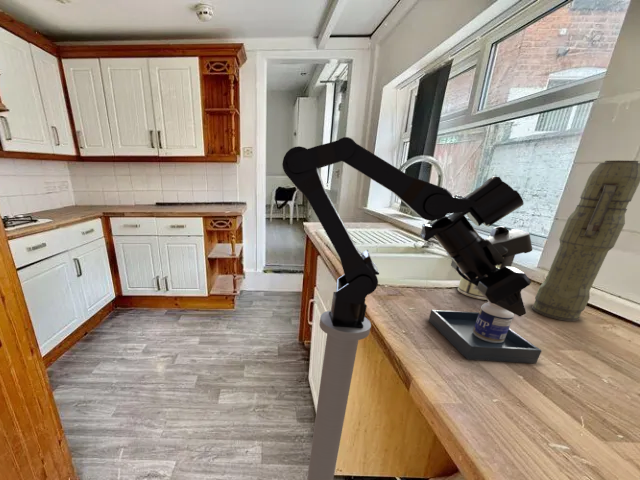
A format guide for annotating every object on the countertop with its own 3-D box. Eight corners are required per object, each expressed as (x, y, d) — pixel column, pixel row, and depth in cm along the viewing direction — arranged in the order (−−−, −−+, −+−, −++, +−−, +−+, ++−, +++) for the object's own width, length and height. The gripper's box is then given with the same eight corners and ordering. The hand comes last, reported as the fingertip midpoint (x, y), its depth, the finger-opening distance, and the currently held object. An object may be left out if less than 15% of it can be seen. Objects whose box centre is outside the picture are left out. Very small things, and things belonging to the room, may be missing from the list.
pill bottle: (467, 329, 64) (480, 290, 61) (494, 331, 64) (508, 292, 61) (480, 342, 60) (495, 301, 56) (510, 345, 59) (526, 303, 56)
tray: (466, 359, 56) (471, 346, 55) (428, 320, 70) (431, 309, 69) (536, 363, 55) (542, 350, 54) (483, 323, 69) (487, 312, 68)
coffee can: (487, 288, 91) (503, 241, 86) (508, 302, 81) (527, 251, 76) (450, 285, 92) (464, 239, 87) (466, 298, 83) (483, 248, 78)
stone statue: (576, 310, 78) (646, 162, 65) (581, 327, 69) (663, 160, 56) (531, 300, 83) (587, 161, 70) (531, 314, 75) (595, 159, 62)
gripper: (538, 222, 45) (595, 300, 47) (484, 207, 62) (528, 265, 64) (463, 267, 50) (518, 336, 51) (432, 242, 67) (474, 295, 68)
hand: (509, 304), depth 59 cm, fingers open, 9 cm apart
